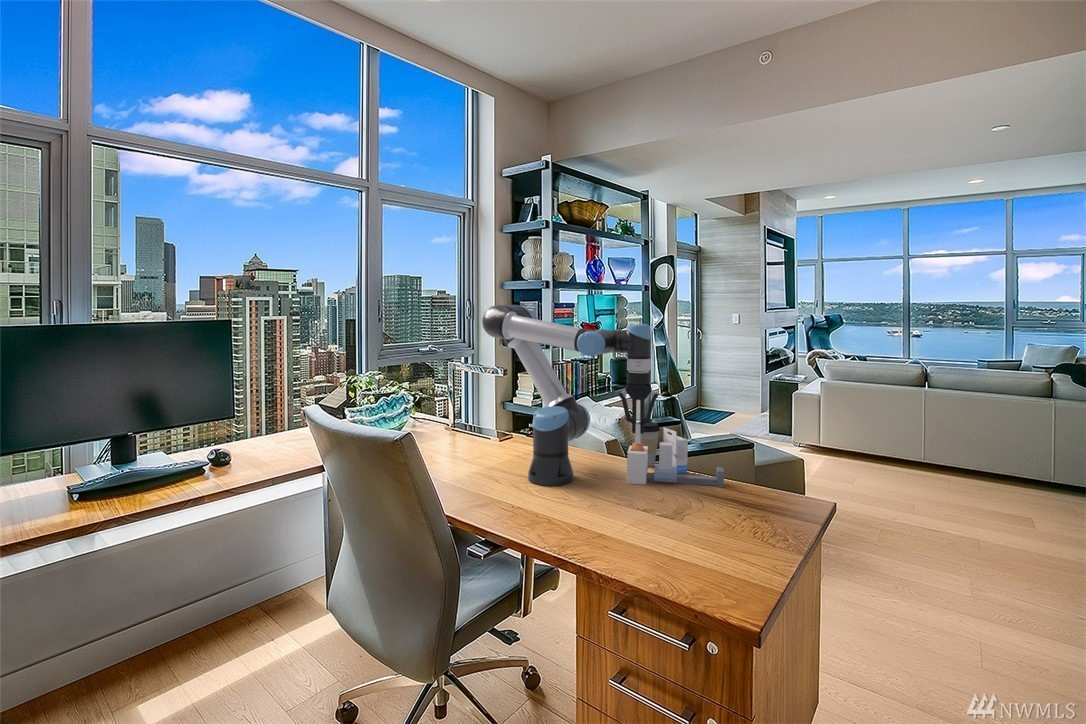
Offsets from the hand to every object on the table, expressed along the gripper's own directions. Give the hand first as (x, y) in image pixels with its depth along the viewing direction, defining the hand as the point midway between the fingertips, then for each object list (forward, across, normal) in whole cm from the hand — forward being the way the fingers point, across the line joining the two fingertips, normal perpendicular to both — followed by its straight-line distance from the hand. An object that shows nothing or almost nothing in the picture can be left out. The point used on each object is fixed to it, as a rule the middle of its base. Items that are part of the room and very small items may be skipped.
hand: (637, 442), depth 177 cm
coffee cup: (+12, +2, +18) cm, 22 cm away
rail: (+12, +14, 0) cm, 19 cm away
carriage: (+12, +9, 0) cm, 15 cm away
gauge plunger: (+4, 0, 0) cm, 4 cm away
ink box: (+13, +12, +13) cm, 22 cm away
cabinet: (+12, 0, 0) cm, 12 cm away
